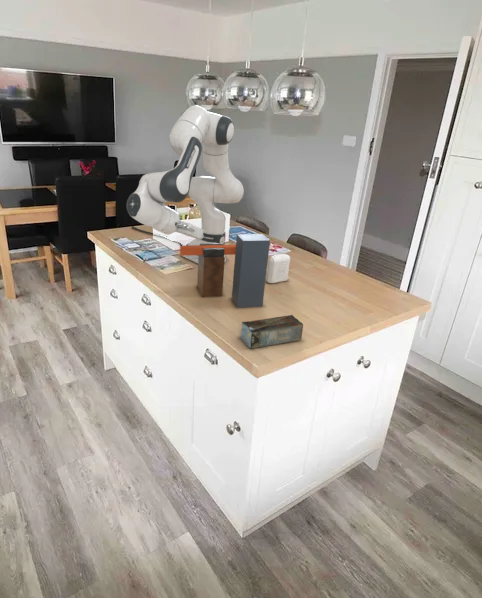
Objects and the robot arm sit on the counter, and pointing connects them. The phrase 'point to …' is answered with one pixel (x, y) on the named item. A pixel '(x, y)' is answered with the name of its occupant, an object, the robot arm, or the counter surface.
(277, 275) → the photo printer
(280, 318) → the beverage carton
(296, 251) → the counter surface
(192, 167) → the robot arm
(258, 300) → the stand
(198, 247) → the orange bar
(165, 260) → the counter surface
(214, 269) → the wood grain post
